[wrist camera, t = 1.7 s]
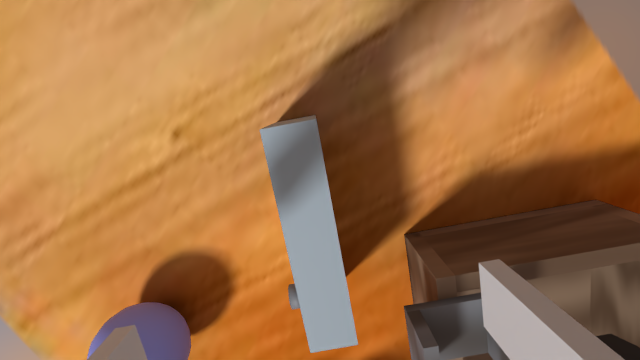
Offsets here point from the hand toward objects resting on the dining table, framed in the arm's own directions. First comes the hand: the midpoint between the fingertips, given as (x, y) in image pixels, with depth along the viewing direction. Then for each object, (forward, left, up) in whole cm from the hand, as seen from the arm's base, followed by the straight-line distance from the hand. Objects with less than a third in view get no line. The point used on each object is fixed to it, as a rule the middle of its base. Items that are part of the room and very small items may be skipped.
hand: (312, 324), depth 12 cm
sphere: (+8, -15, -14) cm, 22 cm away
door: (0, 0, -14) cm, 14 cm away
